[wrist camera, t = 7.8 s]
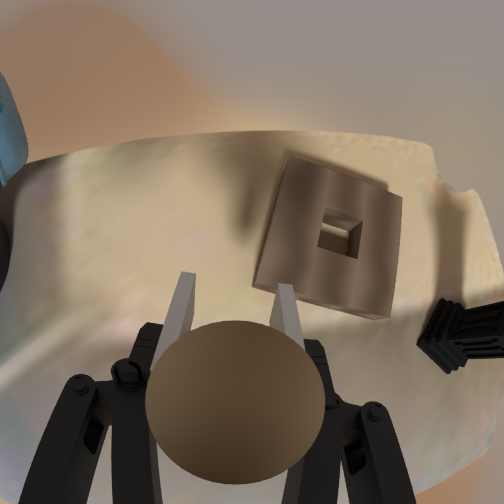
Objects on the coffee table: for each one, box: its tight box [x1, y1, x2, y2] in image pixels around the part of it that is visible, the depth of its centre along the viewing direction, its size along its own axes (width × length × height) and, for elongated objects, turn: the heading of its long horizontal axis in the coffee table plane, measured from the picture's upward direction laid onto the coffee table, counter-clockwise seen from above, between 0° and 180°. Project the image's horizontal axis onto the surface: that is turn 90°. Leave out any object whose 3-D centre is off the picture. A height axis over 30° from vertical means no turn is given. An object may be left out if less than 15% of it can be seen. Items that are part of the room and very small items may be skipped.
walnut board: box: [252, 156, 402, 320], centre depth 35 cm, size 16×16×4 cm
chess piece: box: [417, 298, 504, 374], centre depth 25 cm, size 8×8×20 cm
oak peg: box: [145, 321, 325, 485], centre depth 13 cm, size 4×4×13 cm
